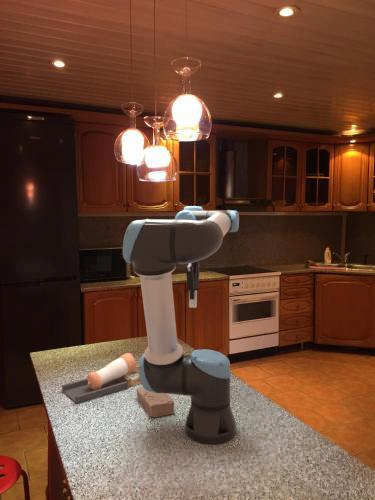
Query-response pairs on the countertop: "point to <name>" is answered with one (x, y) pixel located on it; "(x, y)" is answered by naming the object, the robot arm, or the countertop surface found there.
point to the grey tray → (91, 390)
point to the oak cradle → (130, 381)
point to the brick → (155, 402)
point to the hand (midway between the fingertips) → (192, 307)
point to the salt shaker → (112, 371)
